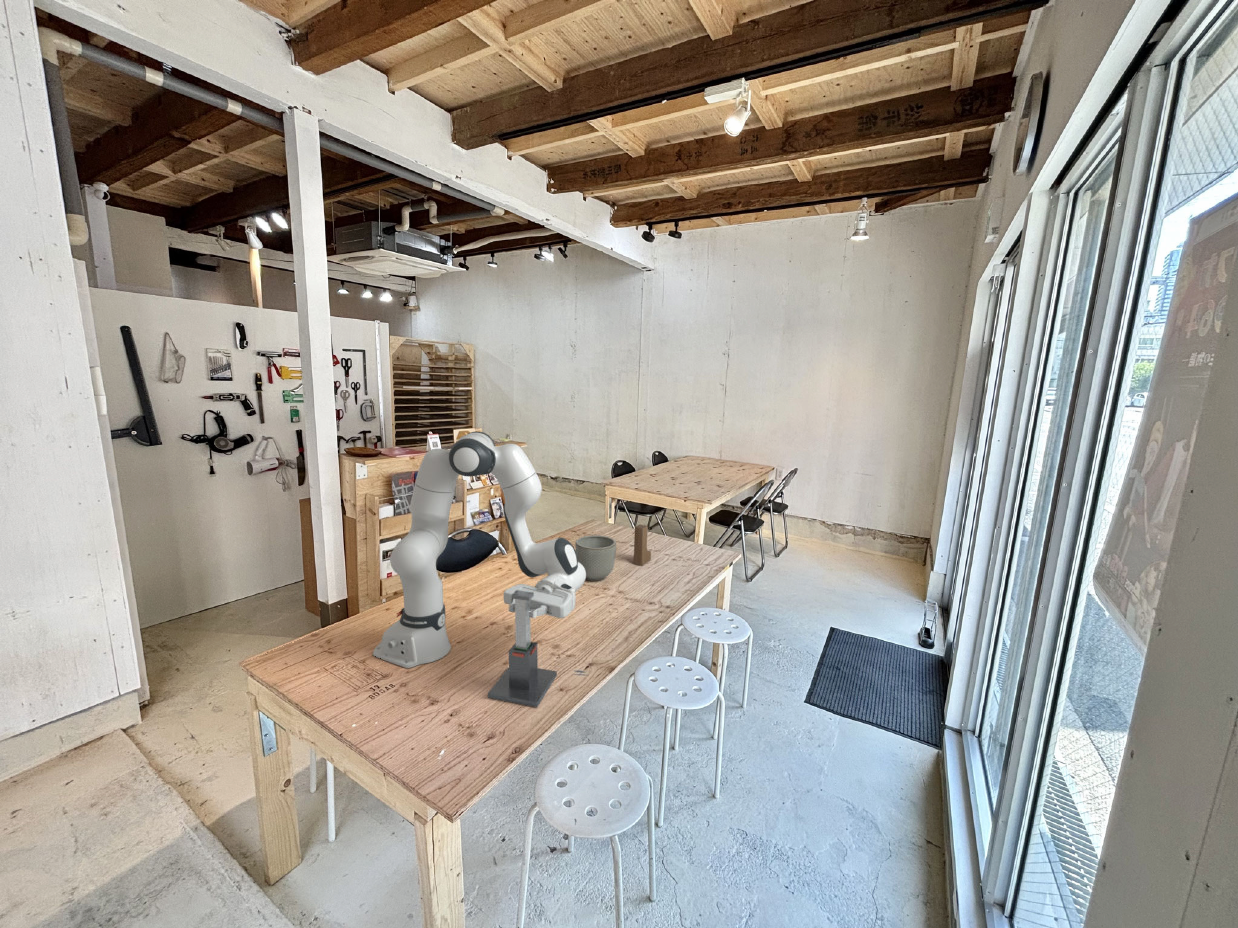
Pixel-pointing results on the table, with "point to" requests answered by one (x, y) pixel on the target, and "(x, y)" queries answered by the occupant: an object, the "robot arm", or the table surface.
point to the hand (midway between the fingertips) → (520, 612)
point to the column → (522, 619)
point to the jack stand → (523, 679)
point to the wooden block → (641, 546)
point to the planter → (596, 555)
